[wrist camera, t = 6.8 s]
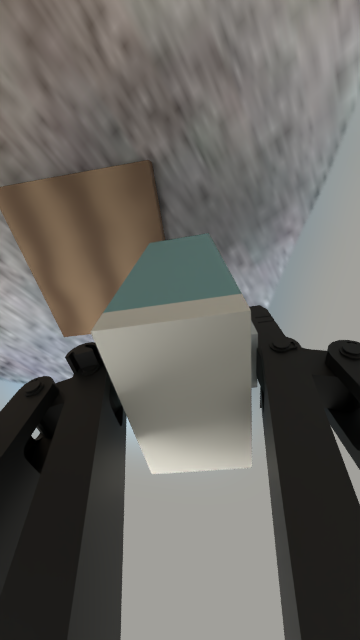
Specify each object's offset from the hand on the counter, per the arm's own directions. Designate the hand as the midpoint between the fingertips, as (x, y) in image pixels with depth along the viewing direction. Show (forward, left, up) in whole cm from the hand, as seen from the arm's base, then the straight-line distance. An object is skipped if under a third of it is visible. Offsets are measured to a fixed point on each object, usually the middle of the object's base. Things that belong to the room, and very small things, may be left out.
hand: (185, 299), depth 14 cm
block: (0, 0, -3) cm, 3 cm away
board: (-10, 0, -15) cm, 18 cm away
